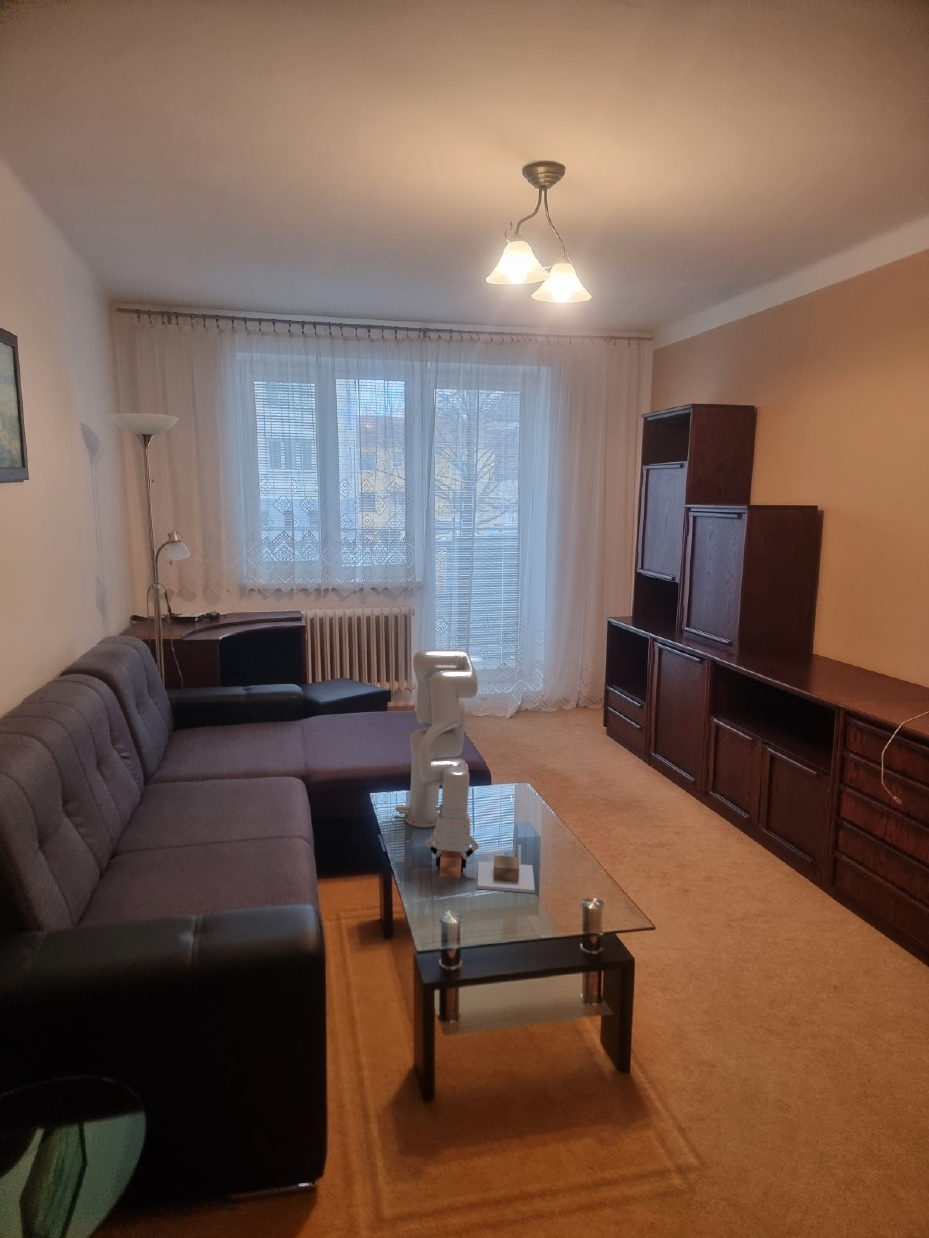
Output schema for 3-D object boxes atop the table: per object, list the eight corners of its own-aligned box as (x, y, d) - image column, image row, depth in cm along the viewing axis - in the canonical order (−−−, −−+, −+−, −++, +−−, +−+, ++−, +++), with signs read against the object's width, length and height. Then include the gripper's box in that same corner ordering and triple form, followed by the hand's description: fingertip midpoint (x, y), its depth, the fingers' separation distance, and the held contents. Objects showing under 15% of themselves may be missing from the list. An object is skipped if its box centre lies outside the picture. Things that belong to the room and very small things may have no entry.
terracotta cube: (439, 876, 218) (440, 857, 217) (440, 866, 224) (441, 847, 223) (460, 878, 218) (461, 859, 217) (461, 868, 224) (462, 849, 223)
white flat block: (477, 888, 213) (478, 872, 212) (478, 864, 227) (479, 848, 226) (534, 892, 212) (535, 876, 211) (532, 868, 226) (533, 852, 225)
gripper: (422, 813, 214) (419, 873, 217) (484, 818, 214) (480, 877, 217) (425, 802, 221) (422, 860, 224) (484, 807, 221) (480, 865, 224)
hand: (450, 868), depth 220 cm, fingers closed on terracotta cube, 6 cm apart
